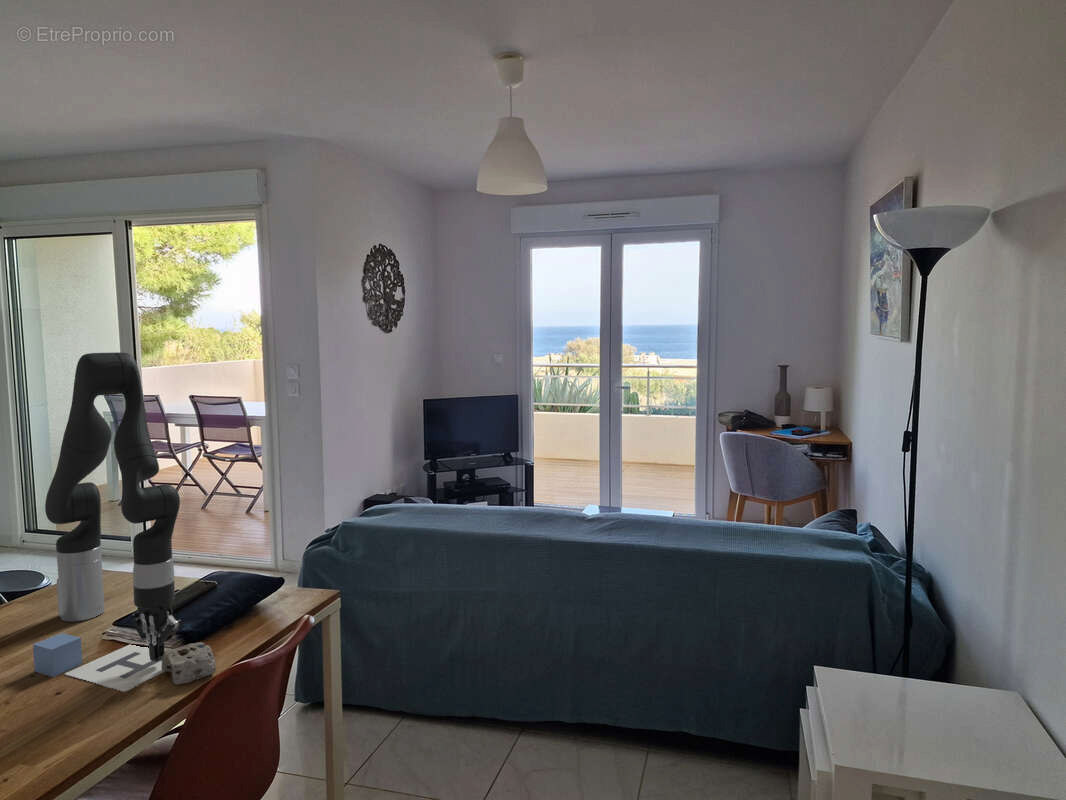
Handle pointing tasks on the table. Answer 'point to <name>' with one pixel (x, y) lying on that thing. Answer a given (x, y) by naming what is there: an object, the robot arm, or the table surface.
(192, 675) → the stone
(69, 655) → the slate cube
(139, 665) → the letter card
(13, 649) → the table surface
